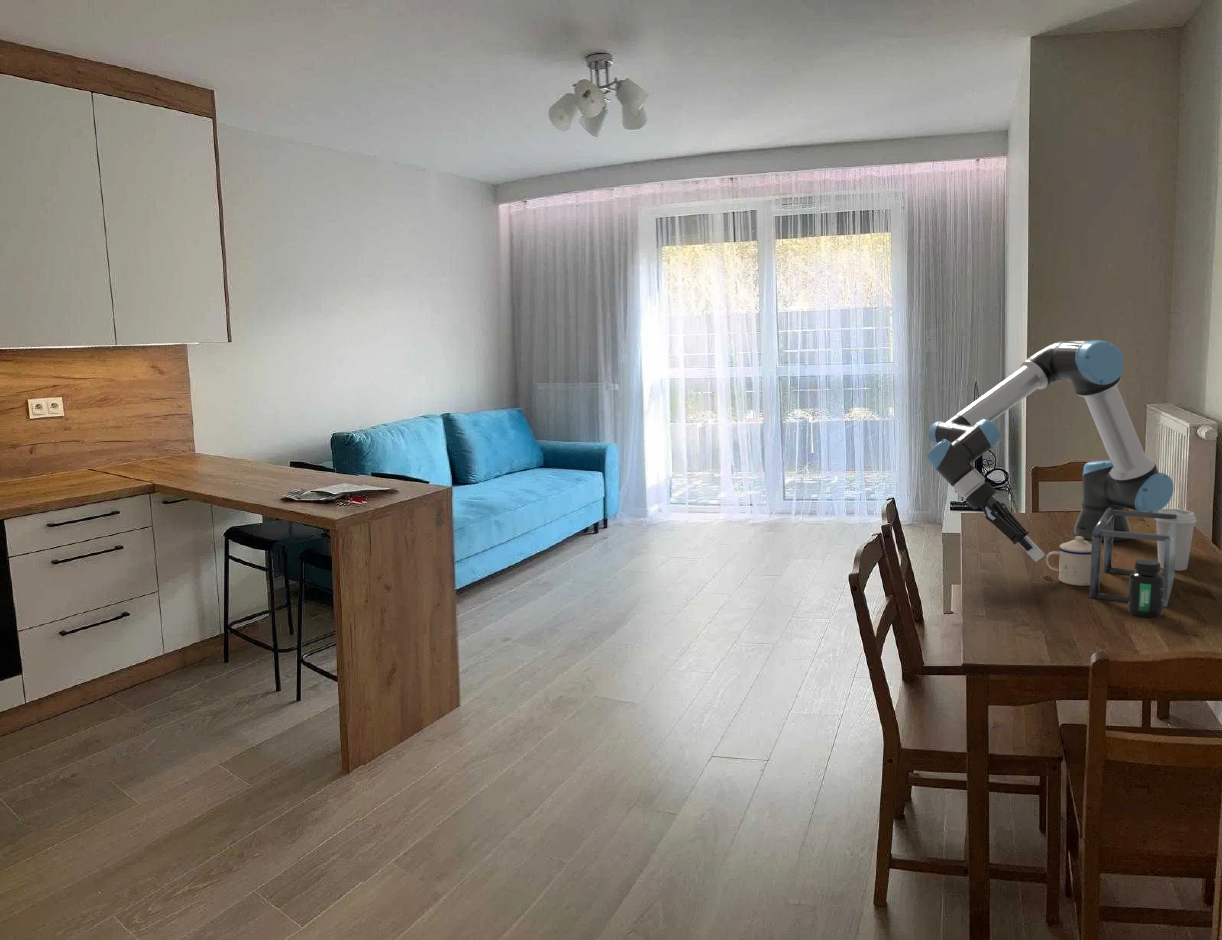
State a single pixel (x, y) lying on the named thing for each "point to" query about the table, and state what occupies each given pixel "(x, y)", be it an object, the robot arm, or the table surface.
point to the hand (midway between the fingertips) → (1040, 558)
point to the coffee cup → (1183, 536)
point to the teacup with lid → (1073, 562)
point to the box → (1108, 533)
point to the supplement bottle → (1146, 590)
